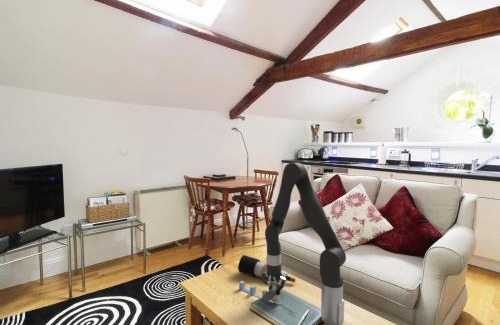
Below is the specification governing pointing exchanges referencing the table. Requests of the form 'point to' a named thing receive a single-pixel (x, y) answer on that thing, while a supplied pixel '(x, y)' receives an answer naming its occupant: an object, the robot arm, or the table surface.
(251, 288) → the blue grey peg rack
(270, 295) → the gray elongated ellipsoid
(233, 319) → the table surface
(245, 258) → the cable
